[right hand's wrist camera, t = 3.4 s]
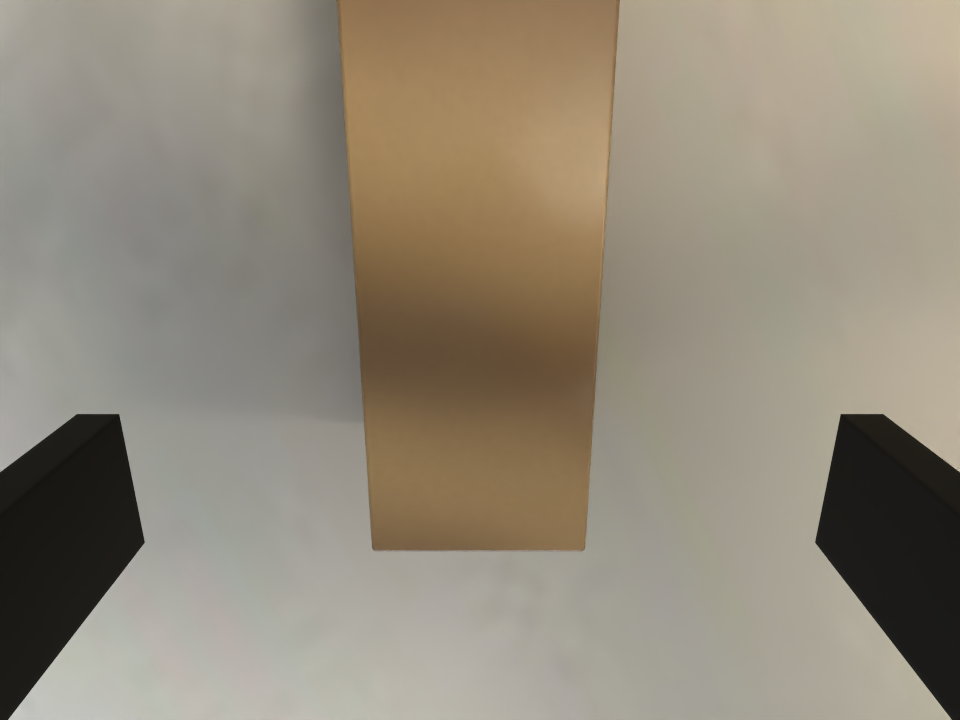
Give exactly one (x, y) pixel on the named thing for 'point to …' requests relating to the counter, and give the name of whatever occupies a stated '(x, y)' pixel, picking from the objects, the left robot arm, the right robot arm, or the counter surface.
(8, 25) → the counter surface
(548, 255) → the post
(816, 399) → the counter surface
